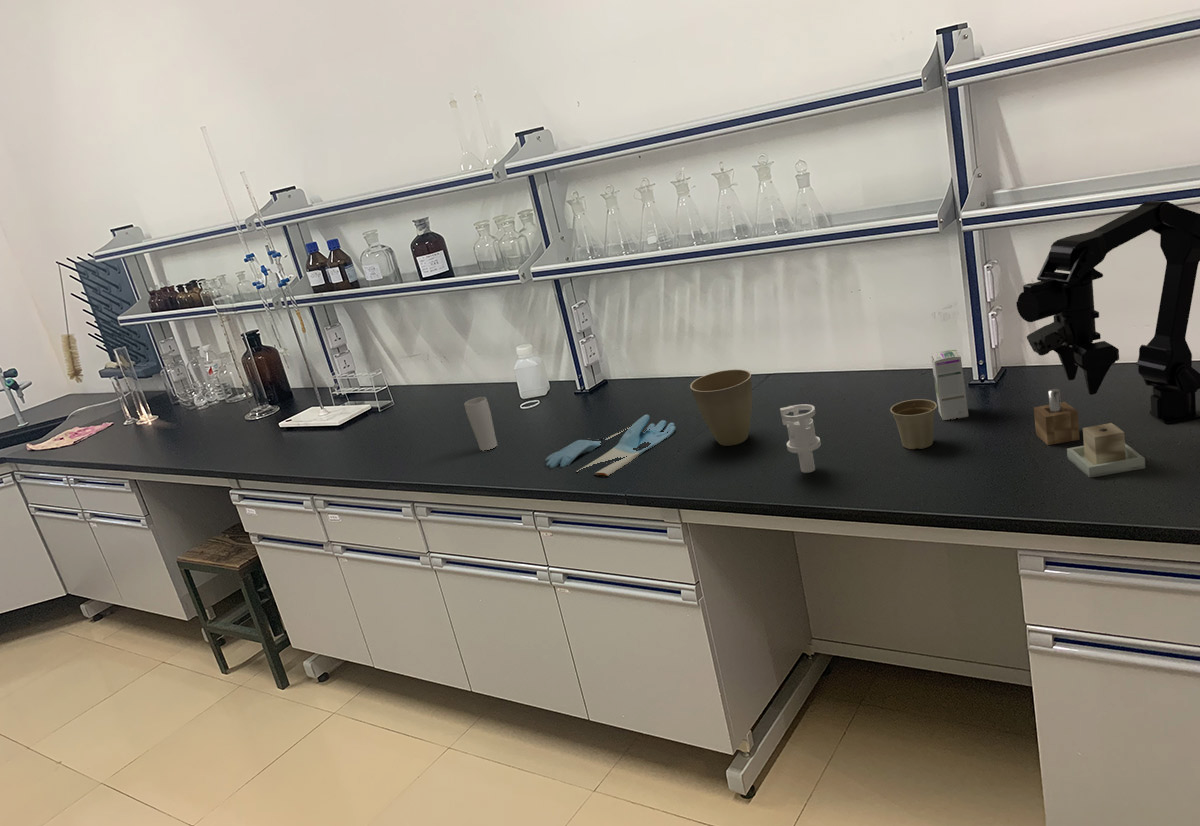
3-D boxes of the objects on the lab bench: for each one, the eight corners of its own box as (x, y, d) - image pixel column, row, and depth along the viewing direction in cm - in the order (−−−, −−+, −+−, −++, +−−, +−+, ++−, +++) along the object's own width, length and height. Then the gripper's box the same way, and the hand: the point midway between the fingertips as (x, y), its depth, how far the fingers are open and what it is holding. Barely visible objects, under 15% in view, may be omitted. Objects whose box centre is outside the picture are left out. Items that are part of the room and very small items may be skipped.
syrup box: (969, 417, 194) (962, 355, 189) (941, 421, 195) (934, 360, 191) (964, 408, 199) (957, 348, 194) (937, 412, 200) (930, 353, 196)
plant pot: (705, 433, 223) (693, 375, 218) (763, 424, 219) (752, 365, 214) (700, 456, 209) (687, 394, 204) (761, 447, 205) (749, 384, 201)
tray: (1120, 449, 163) (1119, 439, 163) (1145, 468, 154) (1144, 458, 154) (1067, 458, 165) (1066, 448, 164) (1089, 477, 156) (1088, 467, 155)
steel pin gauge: (1060, 434, 175) (1057, 388, 172) (1064, 437, 173) (1061, 391, 170) (1050, 436, 175) (1046, 390, 172) (1054, 439, 173) (1050, 393, 170)
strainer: (789, 467, 191) (777, 403, 186) (820, 460, 190) (810, 396, 186) (794, 479, 184) (783, 414, 180) (828, 472, 184) (816, 406, 179)
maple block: (1113, 452, 161) (1111, 422, 159) (1126, 462, 157) (1124, 431, 155) (1084, 457, 162) (1082, 427, 160) (1096, 467, 157) (1094, 436, 156)
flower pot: (948, 437, 186) (944, 399, 184) (930, 454, 180) (925, 416, 177) (906, 434, 193) (901, 398, 190) (887, 451, 187) (882, 414, 184)
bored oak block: (1066, 429, 176) (1064, 401, 175) (1079, 439, 171) (1077, 411, 169) (1036, 434, 177) (1033, 407, 176) (1047, 445, 172) (1045, 417, 170)
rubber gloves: (533, 469, 229) (527, 447, 228) (613, 422, 251) (608, 402, 249) (608, 480, 210) (602, 455, 208) (687, 428, 232) (682, 406, 230)
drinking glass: (504, 443, 255) (491, 395, 250) (492, 452, 249) (478, 404, 244) (485, 444, 258) (471, 397, 253) (473, 453, 252) (459, 406, 248)
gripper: (1012, 305, 169) (1018, 381, 173) (1050, 328, 151) (1057, 411, 156) (1072, 293, 167) (1077, 369, 172) (1118, 314, 149) (1122, 399, 154)
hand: (1081, 386), depth 163 cm, fingers open, 9 cm apart
